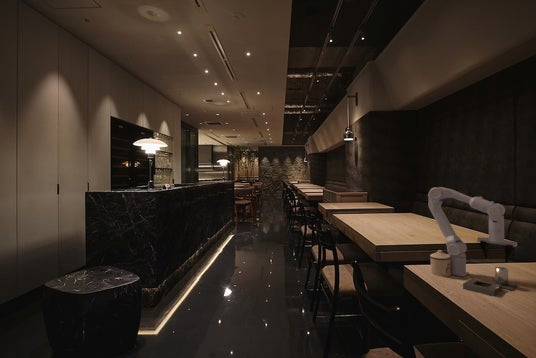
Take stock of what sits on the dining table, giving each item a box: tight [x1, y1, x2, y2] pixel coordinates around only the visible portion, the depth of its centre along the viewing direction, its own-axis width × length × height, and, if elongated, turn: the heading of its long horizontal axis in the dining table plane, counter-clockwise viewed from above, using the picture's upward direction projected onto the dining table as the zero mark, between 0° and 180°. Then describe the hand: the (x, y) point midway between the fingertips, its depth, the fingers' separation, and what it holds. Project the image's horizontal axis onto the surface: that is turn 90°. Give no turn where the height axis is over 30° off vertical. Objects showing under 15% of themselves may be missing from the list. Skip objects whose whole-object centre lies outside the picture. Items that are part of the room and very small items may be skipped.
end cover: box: [494, 266, 509, 286], centre depth 132 cm, size 5×5×7 cm
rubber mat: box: [489, 279, 518, 292], centre depth 132 cm, size 9×9×1 cm
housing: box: [462, 277, 503, 297], centre depth 128 cm, size 11×11×2 cm
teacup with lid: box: [429, 249, 452, 277], centre depth 151 cm, size 12×9×12 cm
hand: (496, 259), depth 138 cm, fingers open, 7 cm apart
